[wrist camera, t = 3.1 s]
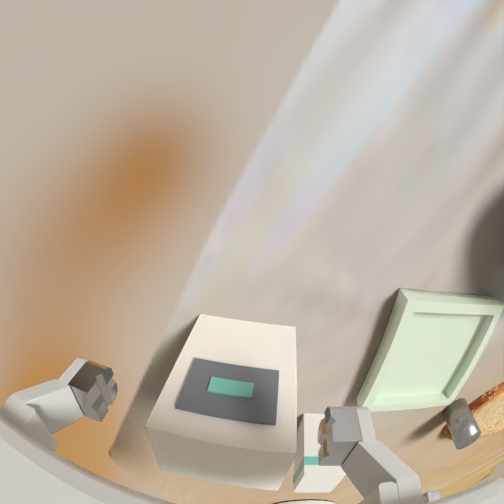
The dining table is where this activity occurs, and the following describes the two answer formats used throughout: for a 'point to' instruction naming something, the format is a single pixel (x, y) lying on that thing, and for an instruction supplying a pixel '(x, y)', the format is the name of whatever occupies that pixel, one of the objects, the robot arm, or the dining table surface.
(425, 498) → the medicine box
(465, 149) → the dining table surface
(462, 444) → the cylinder
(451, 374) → the tray
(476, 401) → the bread slice
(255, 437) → the cream tall block
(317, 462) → the teal band cartridge
